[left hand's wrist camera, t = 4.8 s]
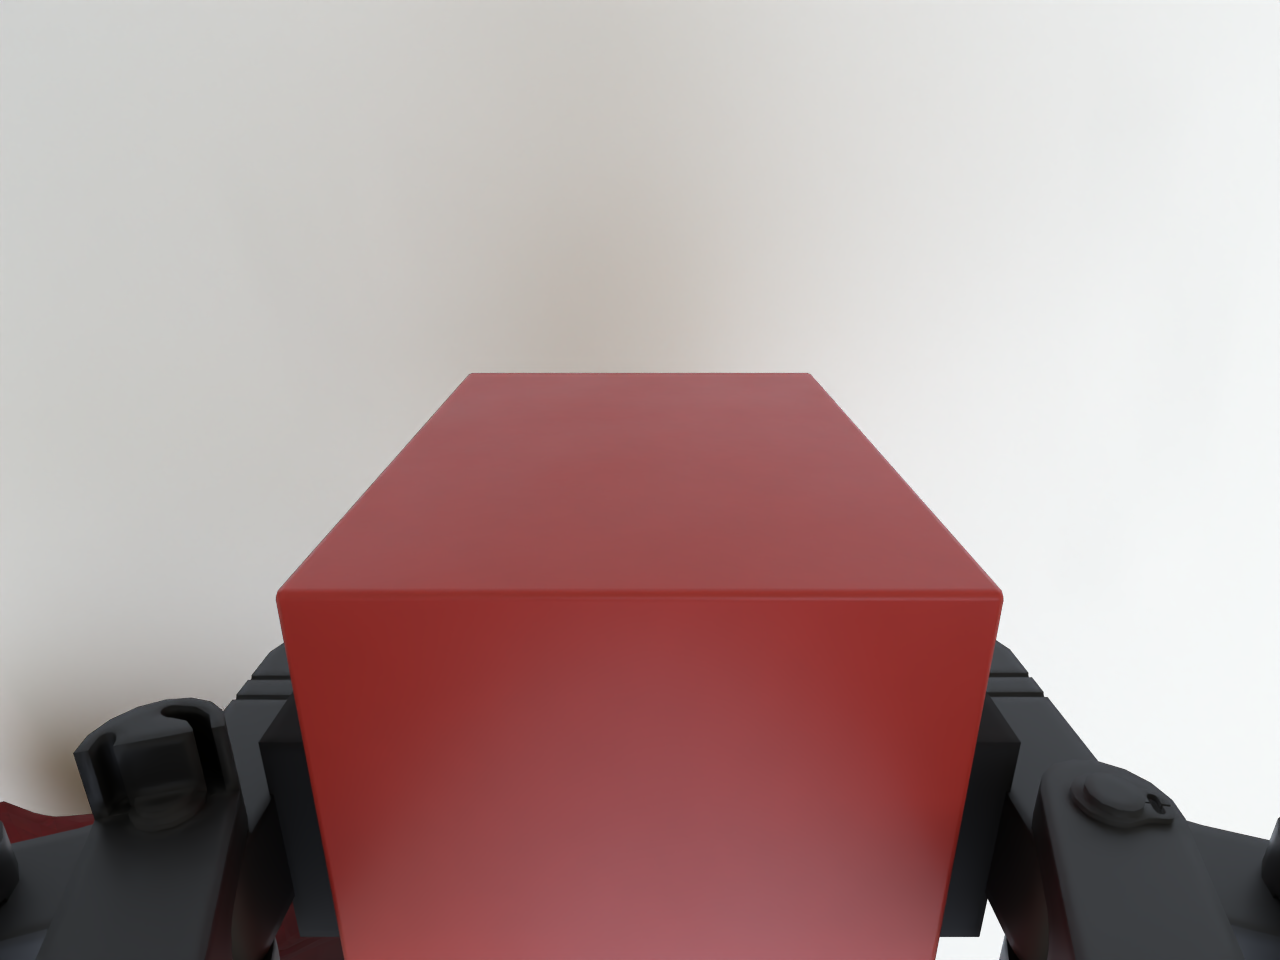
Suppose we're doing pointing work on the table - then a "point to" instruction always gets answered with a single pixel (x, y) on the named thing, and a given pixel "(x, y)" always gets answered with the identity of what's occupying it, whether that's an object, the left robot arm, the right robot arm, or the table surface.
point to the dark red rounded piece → (296, 953)
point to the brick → (639, 680)
